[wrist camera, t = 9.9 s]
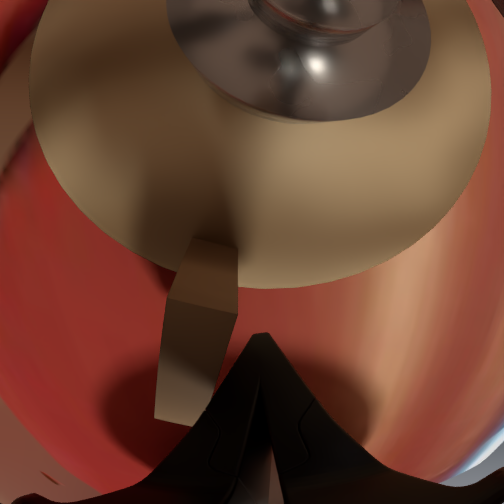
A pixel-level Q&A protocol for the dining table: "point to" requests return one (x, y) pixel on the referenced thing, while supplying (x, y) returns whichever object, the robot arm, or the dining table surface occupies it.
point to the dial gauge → (499, 5)
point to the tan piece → (242, 170)
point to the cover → (305, 54)
